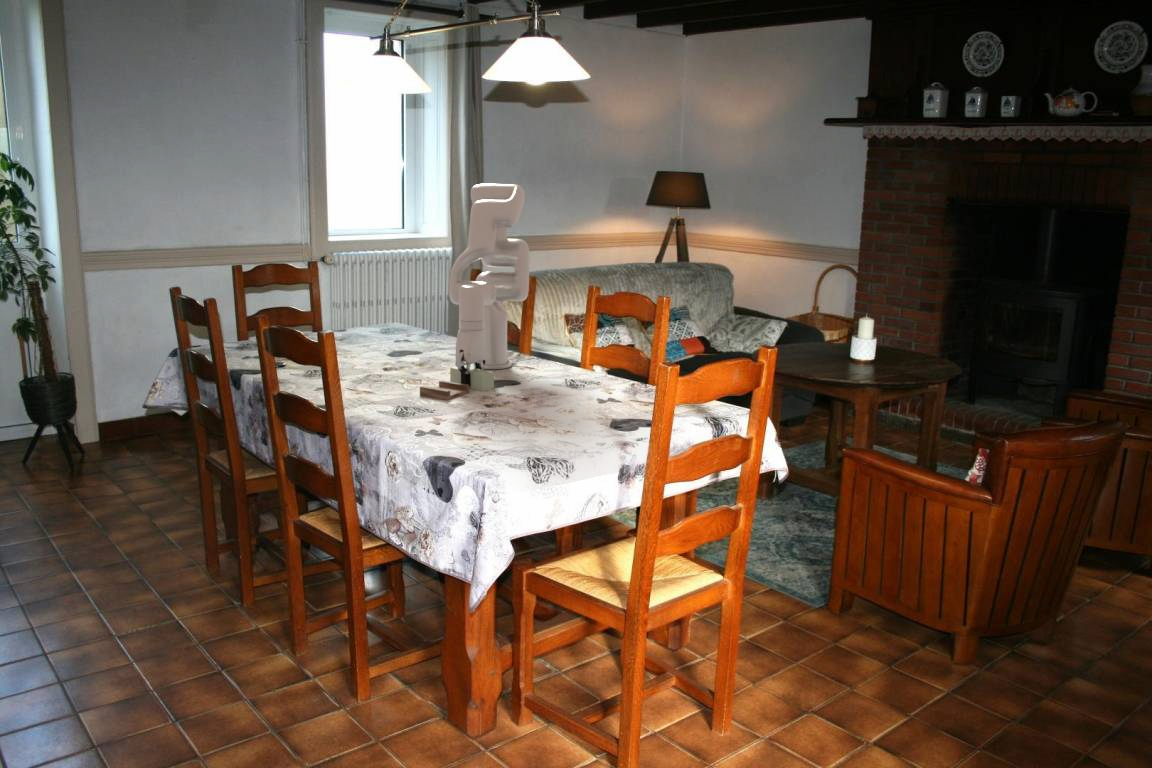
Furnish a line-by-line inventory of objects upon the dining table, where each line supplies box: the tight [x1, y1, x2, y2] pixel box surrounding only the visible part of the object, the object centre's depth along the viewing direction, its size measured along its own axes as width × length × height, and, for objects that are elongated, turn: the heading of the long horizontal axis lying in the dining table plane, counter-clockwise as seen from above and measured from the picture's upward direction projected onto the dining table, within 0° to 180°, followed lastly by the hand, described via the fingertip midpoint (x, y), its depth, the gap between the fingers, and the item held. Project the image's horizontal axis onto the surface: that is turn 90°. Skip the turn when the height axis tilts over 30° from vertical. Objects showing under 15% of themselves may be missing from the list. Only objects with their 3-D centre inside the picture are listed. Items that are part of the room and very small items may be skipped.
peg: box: [449, 365, 495, 392], centre depth 301 cm, size 5×14×5 cm, turn 49°
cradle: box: [419, 380, 470, 401], centre depth 290 cm, size 10×10×2 cm
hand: (471, 383), depth 302 cm, fingers closed on peg, 5 cm apart
